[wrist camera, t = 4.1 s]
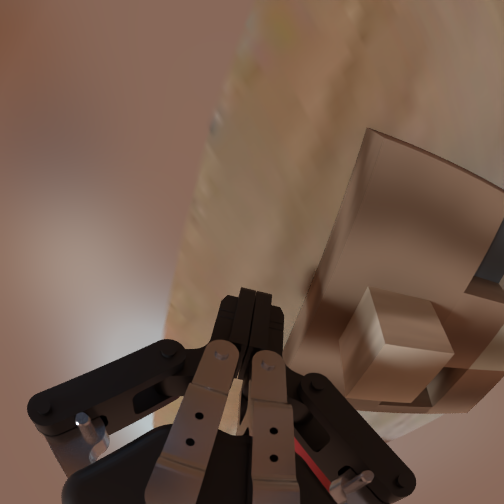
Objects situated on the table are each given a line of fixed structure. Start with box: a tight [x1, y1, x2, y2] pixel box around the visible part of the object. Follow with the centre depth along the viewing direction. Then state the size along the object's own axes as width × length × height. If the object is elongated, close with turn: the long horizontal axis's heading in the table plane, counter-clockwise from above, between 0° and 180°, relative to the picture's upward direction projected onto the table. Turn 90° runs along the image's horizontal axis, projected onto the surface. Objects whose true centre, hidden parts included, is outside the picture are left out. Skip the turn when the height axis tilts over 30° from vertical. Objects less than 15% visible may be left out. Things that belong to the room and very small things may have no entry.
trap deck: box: [282, 128, 504, 414], centre depth 17 cm, size 18×19×3 cm
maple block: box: [339, 286, 454, 403], centre depth 14 cm, size 4×4×4 cm
